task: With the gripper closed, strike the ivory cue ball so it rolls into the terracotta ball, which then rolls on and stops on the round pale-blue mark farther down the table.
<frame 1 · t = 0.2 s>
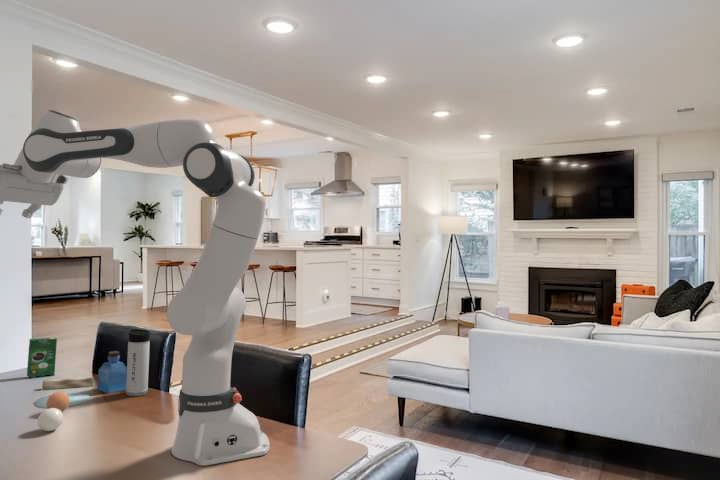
hand: (10, 215, 128), 54 cm above the table, tool tilted 30°, fingers open, 8 cm apart
coffee box: (41, 376, 171), on the table
travel mug: (136, 393, 157), on the table
perfume bottle: (112, 389, 160), on the table
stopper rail: (68, 387, 161), on the table
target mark: (62, 400, 148), on the table
cue ball: (50, 419, 125), on the table
object ball: (58, 402, 138), on the table
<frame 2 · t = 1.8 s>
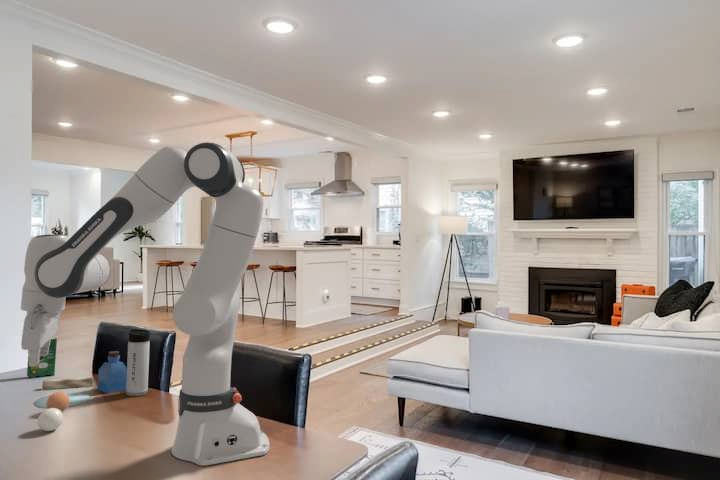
hand: (38, 360, 117), 20 cm above the table, tool pointing down, fingers open, 8 cm apart
nothing on the table moved.
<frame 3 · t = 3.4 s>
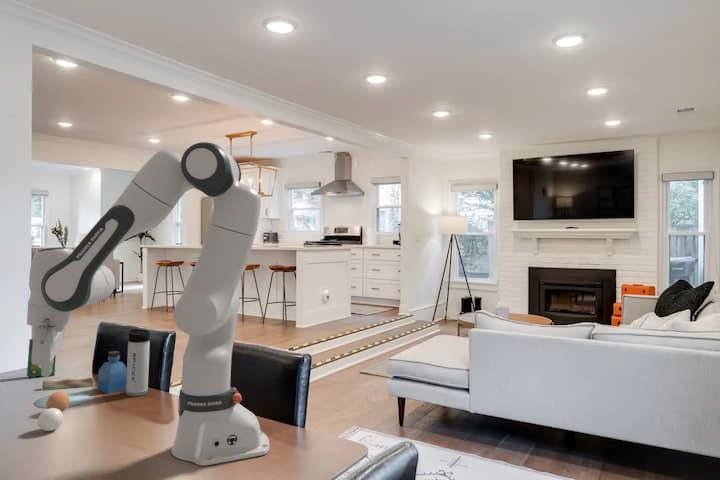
hand: (46, 374, 117), 16 cm above the table, tool pointing down, fingers closed
nothing on the table moved.
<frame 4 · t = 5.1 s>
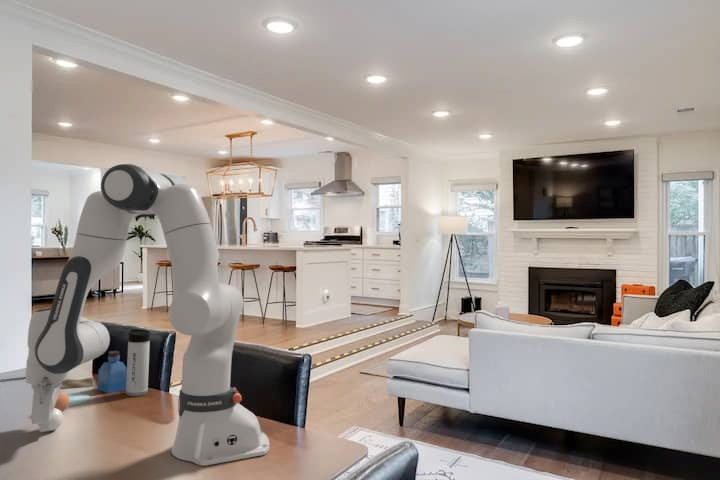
hand: (44, 429, 121), 2 cm above the table, tool pointing down, fingers closed
cue ball: (50, 419, 125), on the table, touching gripper
everything else where it was.
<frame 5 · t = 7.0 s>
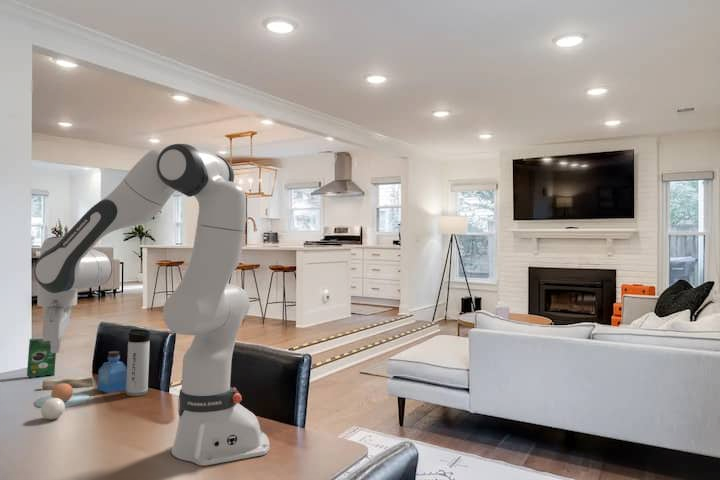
hand: (55, 351, 129), 19 cm above the table, tool pointing down, fingers closed
cue ball: (53, 408, 133), on the table
object ball: (62, 392, 146), on the table
everything else where it was.
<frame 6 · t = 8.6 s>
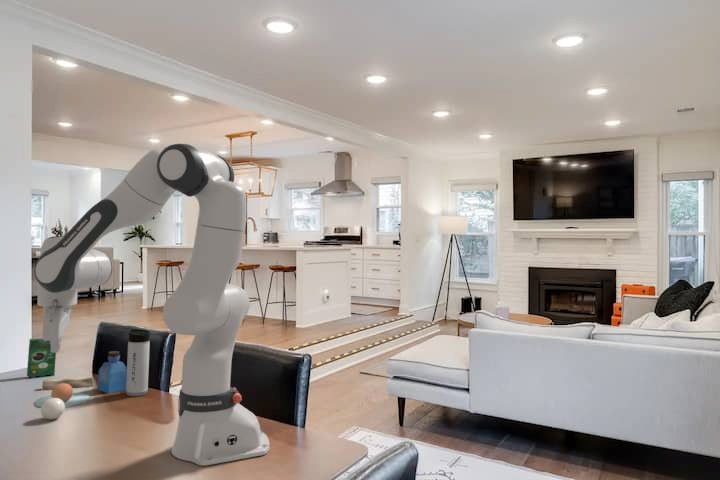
hand: (55, 351, 129), 19 cm above the table, tool pointing down, fingers closed
nothing on the table moved.
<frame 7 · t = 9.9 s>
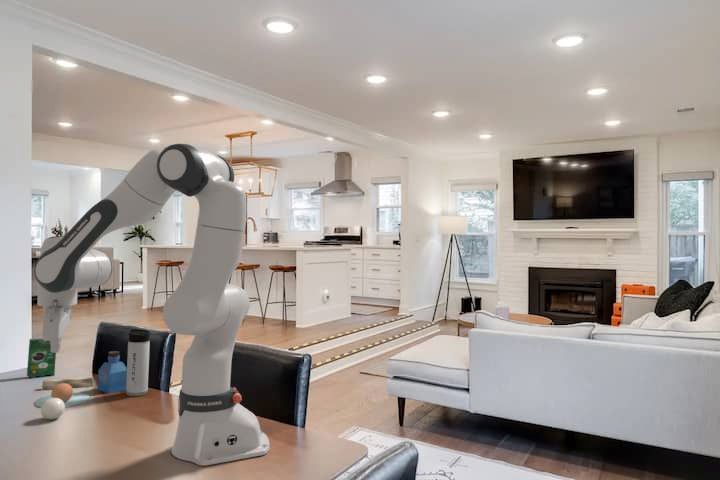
hand: (55, 351, 129), 19 cm above the table, tool pointing down, fingers closed
nothing on the table moved.
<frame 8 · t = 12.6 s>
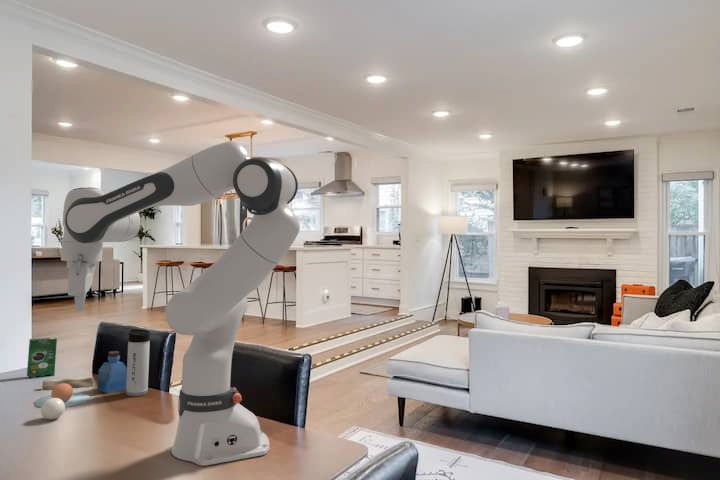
hand: (79, 310, 122), 31 cm above the table, tool pointing down, fingers closed
nothing on the table moved.
at the end: object ball 1.9 cm from the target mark (horizontally); object ball never touched the robot; cue ball first touched object ball at 5.5 s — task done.
